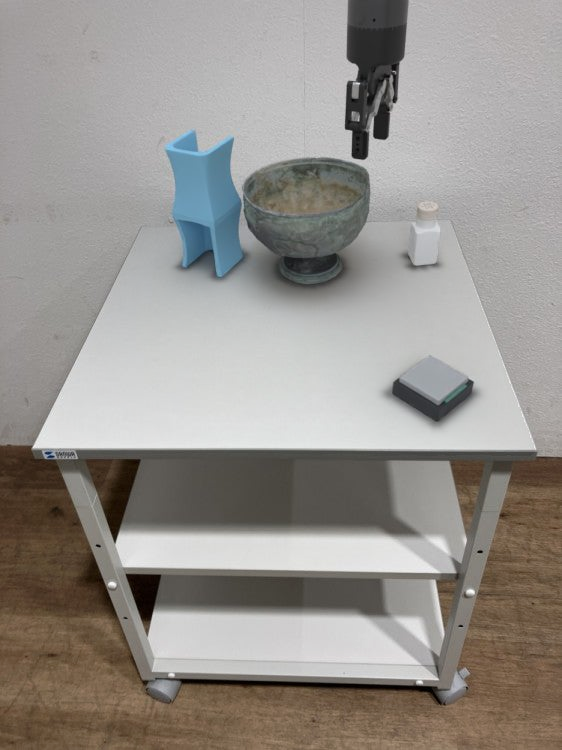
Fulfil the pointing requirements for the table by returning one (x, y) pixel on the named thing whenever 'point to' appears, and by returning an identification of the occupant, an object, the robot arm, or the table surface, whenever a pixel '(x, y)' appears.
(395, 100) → the robot arm
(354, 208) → the bowl
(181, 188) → the blue curved channel stand
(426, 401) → the kitchen scale
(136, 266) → the table surface
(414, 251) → the salt shaker
